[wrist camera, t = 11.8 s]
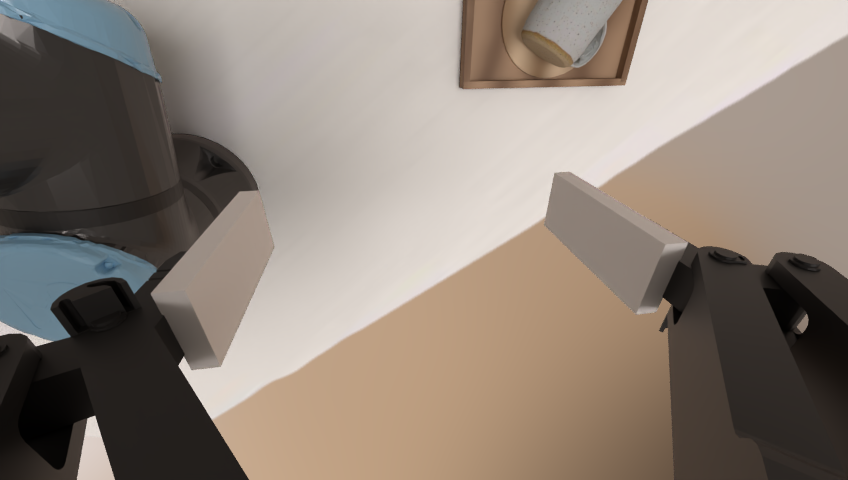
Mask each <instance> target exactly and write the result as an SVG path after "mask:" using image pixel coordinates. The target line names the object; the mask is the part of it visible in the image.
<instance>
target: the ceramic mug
mask: <svg viewBox="0 0 848 480" xmlns="http://www.w3.org/2000/svg"><path fill="white" fill-rule="evenodd" d="M621 2H622V0H538V1H537V3H536V5H535V6H534V8H533V10H532V11H531V13H530V14H529V16H528V18H527V20H526V22H525V24H524V27H523V29H522V32H521V37H522V41H523V43H524V44H525V45H526V46H527V47H528V48H529V49H530V50H531V51H532V52H534V53H535V54H536V55H538V56H539V57H541V58H542V59H544V60H545V61H547V62H549V63H551V64H553V65H555V66H557V67H562V68H565V67H569V66H571V67H575V68H579V67H581V66H583V65H585V64H586V63H588V62H589V61H590V60H591V59H592V58H593V56H594V55H595V54H596V53H597V51H598V50H599V48H600V46H601V45H602V43H603V40H604V38H605V35H606V29H607V20H608V19H609V18H610V16H611V15H612V14H613V12H614V11H615V10H616V8H617V7H618V6H619V4H620V3H621Z"/></svg>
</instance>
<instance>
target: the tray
mask: <svg viewBox="0 0 848 480" xmlns="http://www.w3.org/2000/svg"><path fill="white" fill-rule="evenodd" d="M537 1H538V0H463V16H462V38H461V61H460V83H459V87H460V88H462V89H479V88H524V87H568V86H613V85H625V83H626V80H627V76H628V72H629V69H630V65H631V61H632V58H633V54H634V50H635V47H636V43H637V39H638V36H639V32H640V28H641V25H642V21H643V17H644V14H645V10H646V6H647V3H648V0H622V2H621V3H620V4H619V6H618V7H617V8H616V10H615V11H614V12H613V14H612V15H611V16H610V18H609V19H608V20H607V29H606V35H605V38H604V40H603V43H602V45H601V46H600V48H599V50H598V51H597V53H596V54H595V55H594V56H593V58H592V59H591V60H590V61H589V62H588V63H586V64H585V65H583V66H581V67H579V68H575V67H571V66H569V67H565V68H562V67H557V66H555V65H553V64H551V63H549V62H547V61H545V60H544V59H542V58H541V57H539V56H538V55H536V54H535V53H534V52H532V51H531V50H530V49H529V48H528V47H527V46H526V45H525V44H524V43H523V41H522V37H521V32H522V29H523V27H524V24H525V22H526V20H527V18H528V16H529V14H530V13H531V11H532V10H533V8H534V6H535V5H536V3H537Z"/></svg>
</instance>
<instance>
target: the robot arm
mask: <svg viewBox="0 0 848 480" xmlns="http://www.w3.org/2000/svg"><path fill="white" fill-rule="evenodd" d="M160 83H162V78H161V76H160V74H159V73H157V72H156V68H155V65H154V61H153V58H152V54H151V51H150V47H149V43H148V40H147V36H146V33H145V31H144V29H143V28H142V26H141V25H140V23H139V22H138V21H137V20H136V18H135V17H134V16H132V15H131V14H130V13H129V12H128V11H126V10H125V9H123V8H122V7H120V6H118V5H116V4H114V3H112V2H110V1H107V0H0V321H1V322H3V323H5V324H7V325H8V326H11V327H13V328H15V329H17V330H19V331H22V332H24V333H27V334H31V335H35V336H38V337H40V338H43V339H46V340H50V341H54V342H51V343H47V344H44V345H40V346H35V345H34V344H33V343H32V342H31V340H30V339H29V338H28V337H27V336H25V335H23V334H7V335H2V336H0V480H77V475H78V469H79V463H80V457H81V451H82V446H83V440H84V435H85V429H86V424H87V418H89V417H92V416H96V420H97V423H98V426H99V429H100V432H101V436H102V439H103V442H104V445H105V448H106V452H107V455H108V458H109V461H110V465H111V468H112V471H113V474H114V477H115V480H249V479H248V477H247V476H246V474H245V473H244V471H243V469H242V468H241V466H240V465H239V463H238V461H237V460H236V458H235V457H234V455H233V453H232V452H231V450H230V449H229V447H228V445H227V444H226V442H225V441H224V439H223V437H222V436H221V434H220V432H219V431H218V429H217V428H216V426H215V424H214V423H213V421H212V420H211V418H210V416H209V415H208V413H207V411H206V410H205V408H204V407H203V405H202V403H201V402H200V400H199V399H198V397H197V395H196V394H195V392H194V391H193V389H192V387H191V386H190V384H189V383H188V381H187V379H186V378H185V376H184V374H183V373H182V371H181V370H180V368H179V366H178V365H179V363H180V362H181V360H182V358H183V357H185V359H186V361H187V363H188V364H189V366H190V368H191V370H197V369H205V368H213V367H221V365H222V362H223V360H224V358H225V356H226V354H227V351H228V349H229V347H230V345H231V342H232V340H233V338H234V336H235V334H236V331H237V329H238V327H239V325H240V322H241V320H242V318H243V316H244V314H245V311H246V309H247V307H248V305H249V303H250V300H251V298H252V296H253V294H254V291H255V289H256V287H257V285H258V283H259V280H260V278H261V276H262V274H263V271H264V269H265V267H266V265H267V263H268V260H269V258H270V256H271V254H272V251H273V249H274V244H273V240H272V236H271V233H270V229H269V225H268V222H267V218H266V214H265V211H264V207H263V203H262V200H261V196H260V192H259V190H258V188H257V185H256V182H255V180H254V178H253V176H252V175H251V173H250V171H249V170H248V169H247V167H246V166H245V165H244V164H243V163H242V161H241V160H240V159H239V158H237V157H236V156H235V155H234V154H233V153H231V152H230V151H229V150H227V149H226V148H224V147H222V146H221V145H219V144H217V143H215V142H213V141H210V140H208V139H205V138H202V137H198V136H194V135H187V134H171V130H170V126H169V122H168V117H167V113H166V108H165V104H164V100H163V95H162V91H161V86H160ZM544 225H545V226H546V227H547V228H548V229H549V230H550V231H551V232H552V233H553V234H554V235H555V236H556V237H557V238H558V239H559V240H560V241H561V242H562V243H563V244H564V245H565V246H566V247H567V248H568V249H569V250H570V251H571V252H572V253H573V254H574V255H575V256H576V257H577V258H578V259H579V260H580V261H581V262H583V264H585V265H586V266H587V267H588V268H589V269H590V270H591V271H592V272H593V273H594V274H595V275H596V276H597V277H598V278H599V279H600V280H601V281H602V282H603V283H604V284H605V285H606V286H607V287H608V288H609V289H610V290H611V291H612V292H613V293H614V294H615V295H616V296H617V297H618V298H619V299H620V300H621V301H622V302H624V304H626V305H627V306H628V307H629V308H630V309H631V310H632V311H633V312H634V313H635V314H636V315H637V314H645V313H652V312H656V311H657V309H658V307H659V305H660V303H661V301H662V298H664V299H666V300H667V301H668V302H669V303H670V304H672V305H671V307H670V309H669V311H668V313H667V315H666V317H665V319H664V322H663V323H662V326H661V328H660V330H659V331H661V332H663V331H664V329H665V328H668V343H669V367H670V390H671V414H672V437H673V461H674V480H848V279H847V278H845V277H844V276H843V275H841V274H840V273H839V272H837V271H836V270H835V269H834V268H832V267H831V266H829V265H827V264H826V263H824V262H821V261H819V260H817V259H816V258H814V257H811V256H807V255H804V254H795V253H788V252H780V253H776V254H775V255H774V257H773V259H772V260H771V262H770V264H769V265H768V266H764V265H753V264H752V263H751V262H750V261H749V260H748V259H747V258H746V257H744V256H742V255H740V254H738V253H736V252H733V251H730V250H727V249H723V248H719V247H712V246H707V247H701V248H697V247H696V246H694V245H692V244H690V243H689V242H687V241H685V240H684V239H682V238H680V237H679V236H677V235H675V234H674V233H671V232H670V231H669V230H667V229H665V228H663V227H661V226H660V225H658V224H657V223H655V222H654V221H652V220H650V219H648V218H646V217H645V216H643V215H641V214H639V213H638V212H636V211H634V210H633V209H631V208H629V207H628V206H626V205H624V204H623V203H621V202H619V201H617V200H616V199H614V198H613V197H611V196H609V195H608V194H606V193H604V192H603V191H601V190H599V189H598V188H596V187H594V186H593V185H591V184H589V183H588V182H586V181H584V180H582V179H581V178H579V177H577V176H576V175H574V174H572V173H571V172H560V173H554V178H553V183H552V188H551V193H550V198H549V203H548V208H547V213H546V218H545V223H544ZM806 314H807V315H808V319H809V321H808V326H807V328H806V330H805V331H804V332H803V333H801V332H800V331H799V329H798V328H797V326H798V324H799V323H800V322H801V320H802V319H803V318H804V317H805V315H806Z"/></svg>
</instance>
